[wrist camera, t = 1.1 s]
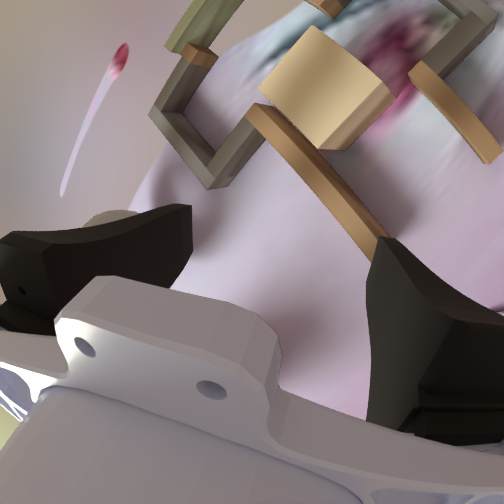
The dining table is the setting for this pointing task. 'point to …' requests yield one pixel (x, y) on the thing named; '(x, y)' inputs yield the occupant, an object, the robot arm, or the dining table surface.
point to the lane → (284, 134)
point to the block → (326, 91)
